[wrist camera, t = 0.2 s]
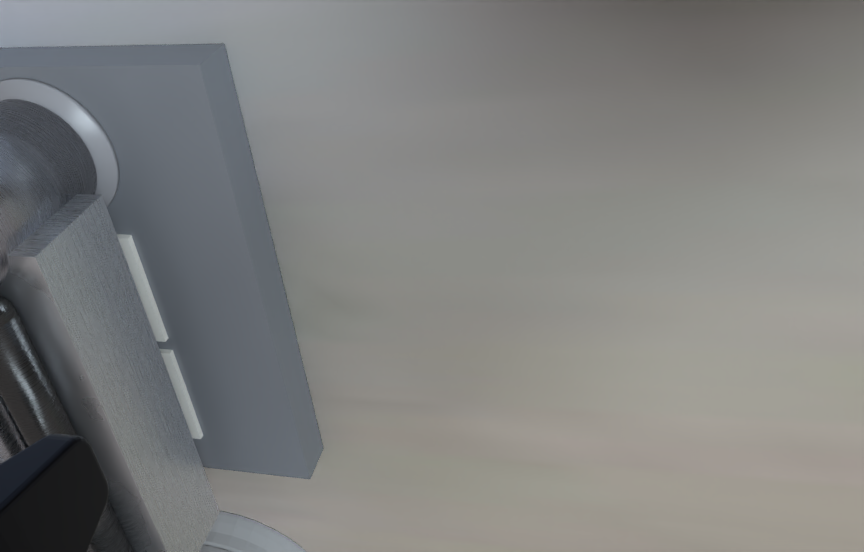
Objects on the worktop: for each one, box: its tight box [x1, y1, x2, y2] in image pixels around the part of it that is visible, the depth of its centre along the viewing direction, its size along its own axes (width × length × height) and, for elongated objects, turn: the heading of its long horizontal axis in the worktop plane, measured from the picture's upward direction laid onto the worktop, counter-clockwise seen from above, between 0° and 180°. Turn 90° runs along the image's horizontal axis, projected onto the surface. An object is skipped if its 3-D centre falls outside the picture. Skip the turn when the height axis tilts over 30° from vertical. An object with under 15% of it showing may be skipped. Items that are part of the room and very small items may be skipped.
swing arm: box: [0, 99, 220, 552], centre depth 24 cm, size 15×5×5 cm, turn 6°
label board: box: [0, 44, 323, 479], centre depth 27 cm, size 16×12×2 cm
